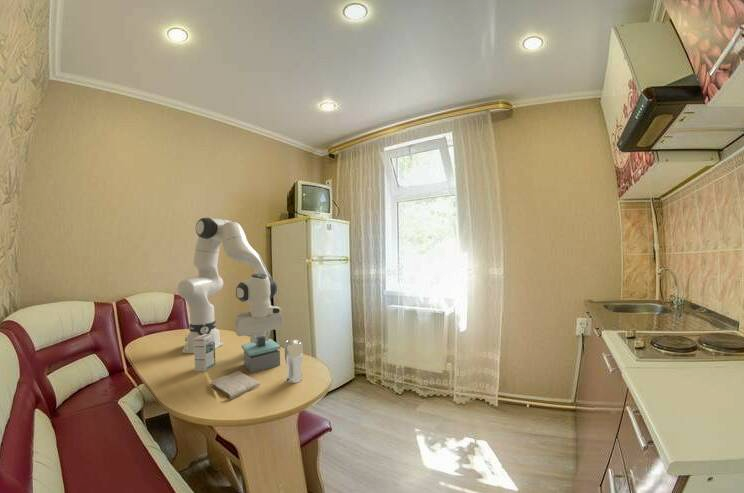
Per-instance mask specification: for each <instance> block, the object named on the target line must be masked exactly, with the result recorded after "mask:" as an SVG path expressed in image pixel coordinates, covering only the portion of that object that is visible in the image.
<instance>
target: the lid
mask: <svg viewBox="0 0 744 493" xmlns="http://www.w3.org/2000/svg"><path fill="white" fill-rule="evenodd" d="M256 338H257V339H258V343H254V342H253V343H251V342H249V343H244V344H241V349H242V350H243V352H244V351H245V352H246V353H247V354H248V355H249V356H252V357H254V356H258V355H262V354H266V353H270V352H274V351H275V350H277V349H278V350H280V349H281V345H280V344H279V343H278V342H276V341H274V340H273V339H272V338H268V341H265V337H264V336H261V337H256Z"/></svg>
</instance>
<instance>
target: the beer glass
mask: <svg viewBox="0 0 744 493" xmlns="http://www.w3.org/2000/svg"><path fill="white" fill-rule="evenodd" d="M303 346H304V345H303V340H302V339H290V340H287V341H285V343H284V358H285V365H286V370H287V373H286V374H287V375H286V376H287V377H286V383H288V384H298V383H300V382H302V381H303V374H302V366H303V357H304V347H303Z"/></svg>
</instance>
